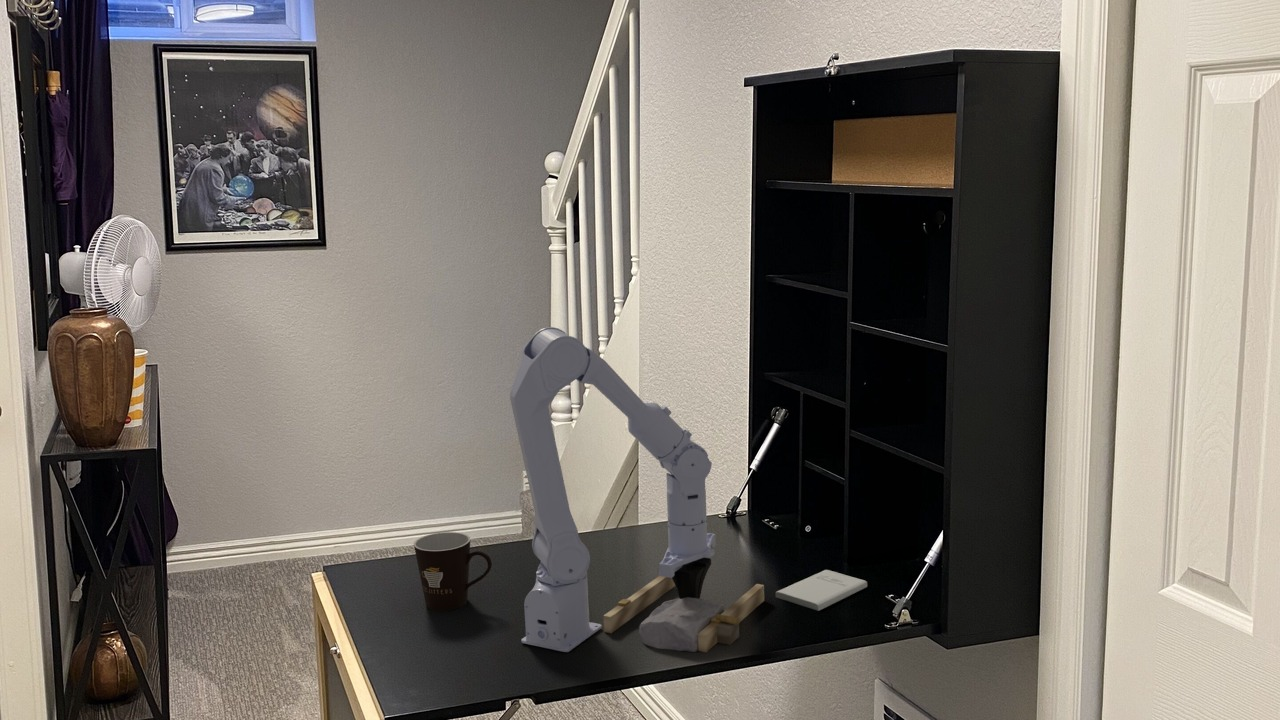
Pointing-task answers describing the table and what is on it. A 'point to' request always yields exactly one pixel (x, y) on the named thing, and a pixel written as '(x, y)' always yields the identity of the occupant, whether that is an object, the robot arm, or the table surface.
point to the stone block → (678, 623)
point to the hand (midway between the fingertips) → (690, 606)
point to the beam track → (716, 632)
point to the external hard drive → (821, 589)
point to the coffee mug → (446, 569)
